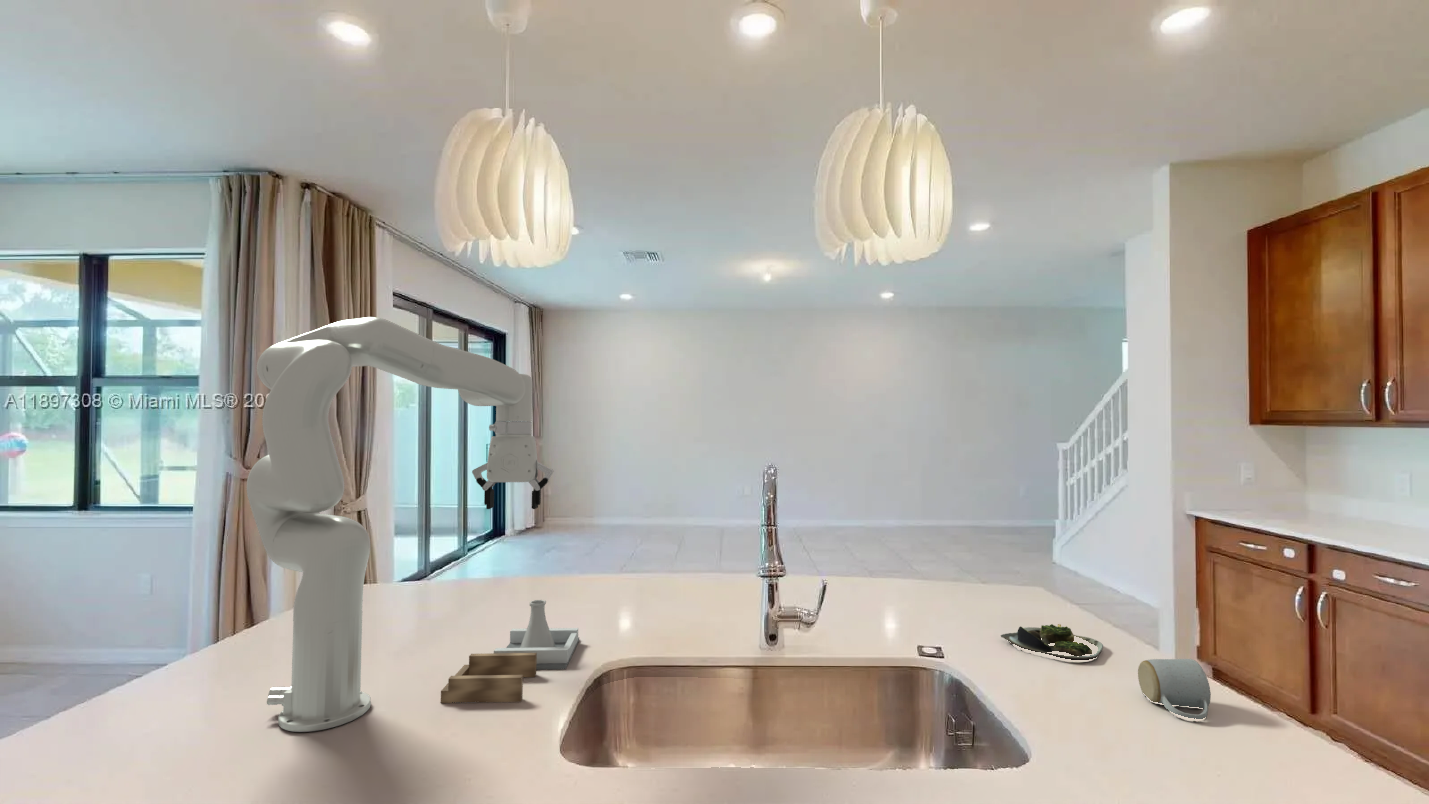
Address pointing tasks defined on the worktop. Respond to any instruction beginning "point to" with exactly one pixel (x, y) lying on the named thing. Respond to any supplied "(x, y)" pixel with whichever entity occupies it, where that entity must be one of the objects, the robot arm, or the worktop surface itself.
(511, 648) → the dock
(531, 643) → the flask
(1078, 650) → the salad plate
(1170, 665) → the ceramic mug
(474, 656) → the wooden u-shaped bracket
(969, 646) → the worktop surface
